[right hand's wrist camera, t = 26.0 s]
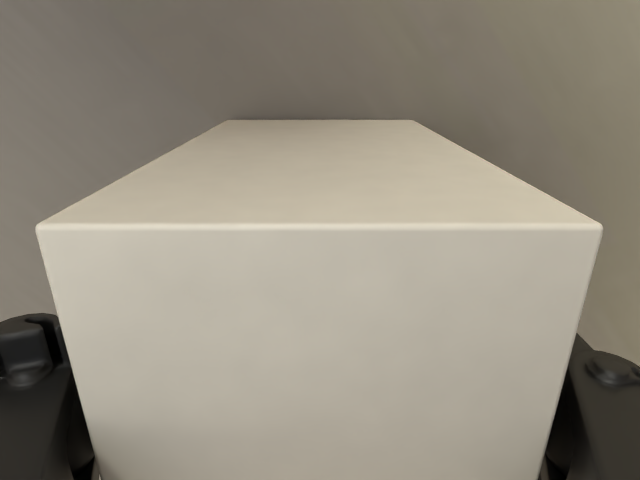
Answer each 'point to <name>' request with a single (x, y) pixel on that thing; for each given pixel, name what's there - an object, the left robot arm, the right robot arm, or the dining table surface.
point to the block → (319, 307)
